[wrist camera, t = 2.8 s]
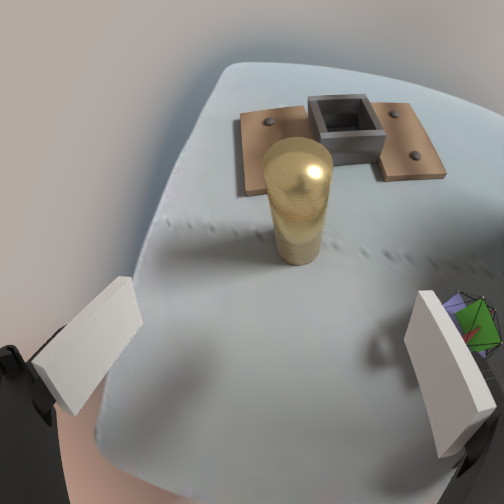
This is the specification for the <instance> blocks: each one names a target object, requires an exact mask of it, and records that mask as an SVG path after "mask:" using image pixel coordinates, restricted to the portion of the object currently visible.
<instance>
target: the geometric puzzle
mask: <svg viewBox="0 0 504 504" xmlns="http://www.w3.org/2000/svg"><path fill="white" fill-rule="evenodd" d="M460 293H461V292H459V291H458V293H457V294H455V295H454V296H453V297H452V298H450V299H449V300H448V301H447V302H445V303H444V304H443V307H444V309H445V310H446V312H447V313H448V315H449V317H450V318H451V320H452V321H453V323H454V325H455V326H456V328H457V330H458V332H459V333H460V335H461V337H462V338H463V340H464V342H465V344H466V346H467V347H468V349H469V351H470V352H471V351H477V352H478V353H479V354H480V355H481V356H482V357H483V358H485V356H487V353H485V350H486V349H487V351H488V348H491V347H493V346H496V345H498V344H499V345H498V346H497V348H498V347H499V346H500V345H501V344H502V343H503V342H502V340H501V339H500V336H501V334H500V336H499V333H498V331H497V328H496V326H495V323H494V318H492V316H491V314H492V313H493V312H494V310H495V312H496V309H494V308H492V307H490V306H488V305H487V304H486V302H485V300H484V297H482V298H478V299H479V300H478V301H477V299H474V300H476V302H474V303H472V304H471V305H469V306H467V307H466V305H465V303H466V302H464V301H463V299H462V297H461V295H460ZM462 294H463V292H462ZM466 294H467V293H466ZM464 295H465V294H464ZM470 295H471V294H470ZM466 296H467V295H466ZM475 296H476V295H475ZM468 297H469V296H468ZM479 297H480V296H479ZM470 298H471V297H470ZM472 299H473V298H472ZM474 300H471V301H474ZM468 302H470V301H468ZM487 306H488V307H490V308H492V309H494V310H492V311H489V309H488V307H487ZM495 312H494V316H495ZM496 316H497V315H496ZM497 321H498V319H497ZM498 326H499V324H498ZM499 331H500V329H499ZM495 348H496V347H495ZM495 348H494V349H495ZM494 349H493V350H494ZM493 350H492V351H493ZM490 352H491V351H490ZM490 352H489V353H490ZM489 353H488V354H489ZM491 355H492V354H491ZM491 355H490V356H491ZM490 356H489V357H490ZM489 357H488V358H489ZM488 358H487V359H488ZM487 359H486V360H487Z"/></svg>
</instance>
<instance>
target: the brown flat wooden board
mask: <svg viewBox="0 0 504 504" xmlns="http://www.w3.org/2000/svg"><path fill="white" fill-rule="evenodd" d="M240 122H241V136H242V149H243V162H244V175H245V189H246V194H247V196H254V195H262V194H268V193H267V188H266V183H265V177H264V172H263V167H262V162H263V157H264V155H265V153H266V151H267V150H268V149H269V148H270V147H271V146H272V145H273V144H275V143H276V142H278V141H280V140H283V139H286V138H291V137H303V138H308V139H312V140H314V141H317V142H318V143H320V144H322V145H323V146H324V147H325V148H326V149H327V150H328V151H329V153H330V155H331V157H332V160H333V166H338V165H351V164H365V163H378V164H379V166H380V169H381V171H382V174H383V177H384V180H385V182H386V181H401V180H419V179H442V178H444V177H445V176H446V174H447V172H446V170H445V168H444V166H443V164H442V162H441V160H440V158H439V156H438V154H437V152H436V150H435V148H434V146H433V144H432V142H431V140H430V139H429V137H428V135H427V133H426V131H425V129H424V128H423V126H422V124H421V123H420V121H419V119H418V117H417V116H416V114H415V112H414V111H413V109H412V108H411V106H410V104H409V103H370V102H369V100H368V98H367V96H366V95H365V94H350V95H325V96H310V97H308V118H307V114H306V111H305V108H304V106H295V107H285V108H276V109H269V110H261V111H254V112H248V113H241V114H240ZM344 126H357V128H358V130H359V131H341V132H328V131H327V128H329V127H344Z"/></svg>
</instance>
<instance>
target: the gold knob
mask: <svg viewBox="0 0 504 504" xmlns="http://www.w3.org/2000/svg"><path fill="white" fill-rule="evenodd" d="M262 167H263V172H264V177H265V183H266V188H267V193H268V199H269V204H270V210H271V215H272V221H273V226H274V232H275V238H276V243H277V249H278V252H279V255H280V256H281V258H282V259H283V260H285V261H286V262H287V263H289V264H292V265H298V266H299V265H305V264H308V263H310V262H312V261H313V260H314V259H315V258H316V257H317V255H318V253H319V251H320V245H321V240H322V234H323V229H324V223H325V217H326V211H327V205H328V198H329V192H330V185H331V178H332V171H333V160H332V157H331V155H330V153H329V151H328V150H327V149H326V148H325V147H324V146H323V145H322V144H320V143H318V142H317V141H314V140H312V139H308V138H303V137H291V138H286V139H283V140H280V141H278V142H276V143H275V144H273V145H272V146H271V147H270V148H269V149H268V150H267V151H266V153H265V155H264V157H263V162H262Z"/></svg>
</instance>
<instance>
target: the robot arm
mask: <svg viewBox="0 0 504 504" xmlns="http://www.w3.org/2000/svg"><path fill="white" fill-rule="evenodd" d="M142 325H143V321H142V317H141V314H140V310H139V306H138V303H137V299H136V295H135V291H134V287H133V283H132V279H131V277H122V276H119V277H117V278H116V279H115V280H114V281H113V282H112V283H111V284H110V285H109V286H108V287H106V288H105V289H104V290H103V291H102V292H101V293H100V294H99V295H98V296H97V297H96V298H94V300H92V301H91V302H90V303H89V304H88V305H87V306H86V307H85V308H84V309H83V310H82V311H81V312H80V313H79V314H78V315H77V316H76V317H75V318H74V319H72V320H71V322H69V323H68V324H67V325H65V326H63V327H62V328H60V329H58V330H57V332H55V333H54V335H53V336H52V338H49V340H47V342H46V343H45V344H44V345H43V346H42V347H41V348H40V349H39V350H38V351H37V352H36V353H35V354H34V355H33V356H32V357H31V358H30V359H29V360H28V361H27V362H26V363H25V362H24V360H23V358H22V356H21V355H20V353H19V351H18V349H17V348H16V347H15V346H14V345H6V346H4V347H2V348H0V504H70V501H69V496H68V492H67V487H66V483H65V478H64V472H63V467H62V461H61V454H60V447H59V439H58V429H57V418H56V410H55V408H54V406H53V405H54V404H55V402H57V403H58V405H59V406H60V407H61V409H62V410H63V411H65V412H67V413H69V414H71V415H73V416H75V417H76V416H77V414H78V413H79V411H80V410H81V408H82V407H83V405H84V404H85V403H86V401H87V400H88V398H89V397H90V395H91V394H92V393H93V391H94V389H95V388H96V387H97V385H98V384H99V383H100V381H101V380H102V379H103V377H104V376H105V374H106V373H107V372H108V370H109V369H110V367H111V366H112V365H113V363H114V362H115V361H116V359H117V358H118V357H119V355H120V354H121V352H122V351H123V350H124V348H125V347H126V346H127V344H128V343H129V342H130V340H131V339H132V338H133V336H134V335H135V334H136V332H137V331H138V330H139V328H140V327H141V326H142ZM404 342H405V345H406V347H407V350H408V353H409V356H410V359H411V362H412V365H413V368H414V371H415V374H416V377H417V380H418V383H419V386H420V389H421V393H422V396H423V399H424V403H425V406H426V410H427V413H428V417H429V421H430V425H431V428H432V432H433V437H434V441H435V445H436V449H437V454H438V459H440V458H444V457H448V456H452V455H455V454H457V453H458V452H459V451H460V450H461V449H462V448H463V447H464V446H465V449H466V453H465V454H464V455H463V456H462V457H461V458H460V459H459V460H458V461H457V462H456V463H455V465H454V466H453V467H452V468H456V467H457V466H458V467H457V469H456V471H455V473H454V475H453V477H452V479H451V481H450V483H449V484H448V486H447V488H446V490H445V491H444V493H443V495H442V496H441V498H440V500H439V501H438V503H437V504H504V395H503V393H502V391H501V389H500V387H499V385H498V383H497V381H496V379H494V375H493V373H492V371H490V367H489V366H488V364H487V362H486V360H485V359H484V358H483V357H482V356H481V355H480V354H479V353H478V352H477V351H471V352H470V351H469V349H468V347H467V346H466V344H465V342H464V340H463V338H462V337H461V335H460V333H459V332H458V330H457V328H456V326H455V325H454V323H453V321H452V320H451V318H450V317H449V315H448V313H447V312H446V310H445V309H444V307H443V305H442V304H441V302H440V301H439V299H438V298H437V296H436V295H435V293H434V292H433V290H430V291H418V293H417V297H416V301H415V304H414V308H413V311H412V315H411V318H410V322H409V325H408V328H407V331H406V334H405V337H404Z"/></svg>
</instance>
